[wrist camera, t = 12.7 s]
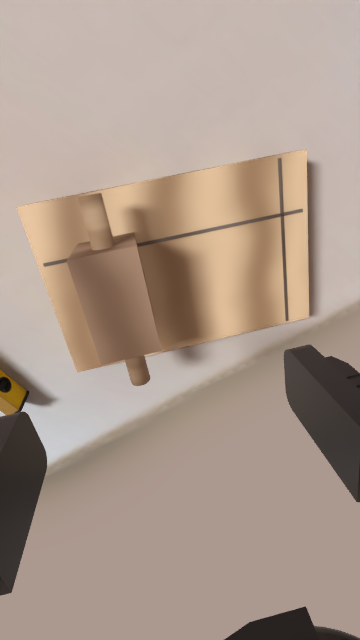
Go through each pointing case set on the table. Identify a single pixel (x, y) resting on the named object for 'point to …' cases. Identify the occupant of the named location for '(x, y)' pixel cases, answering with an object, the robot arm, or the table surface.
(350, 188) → the table surface
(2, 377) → the spirit level
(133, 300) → the tan peg block
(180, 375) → the table surface
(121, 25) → the table surface
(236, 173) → the oak board
